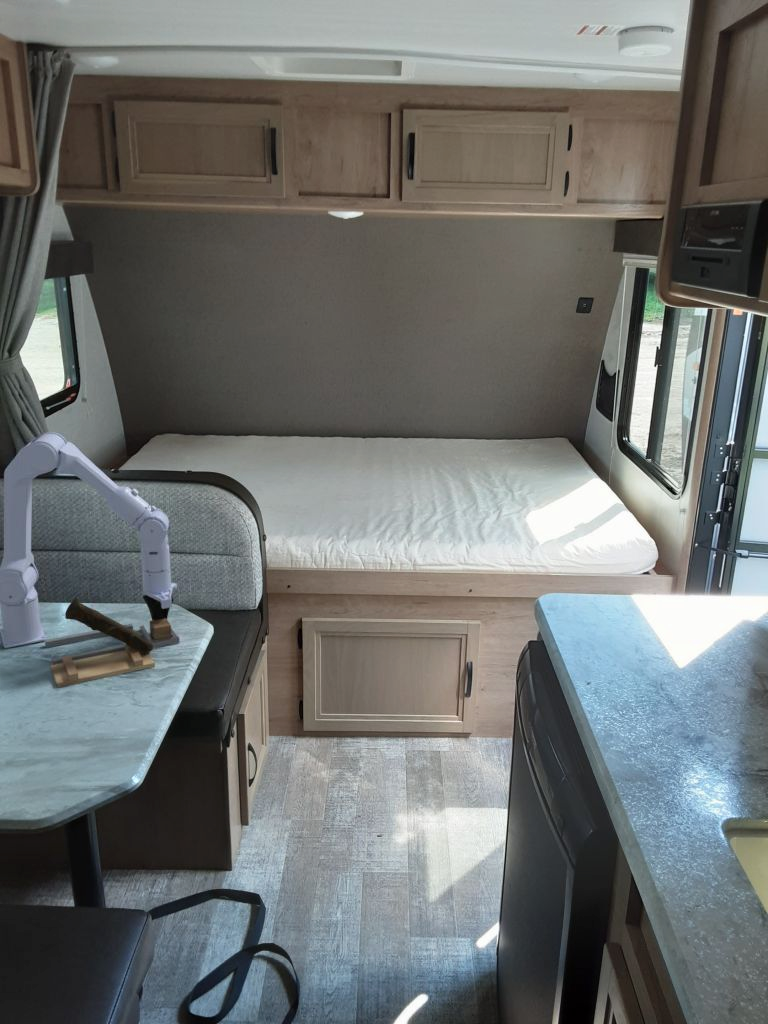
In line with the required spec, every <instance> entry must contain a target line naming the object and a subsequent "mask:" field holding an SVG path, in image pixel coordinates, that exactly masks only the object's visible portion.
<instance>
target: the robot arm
mask: <svg viewBox="0 0 768 1024" xmlns="http://www.w3.org/2000/svg"><path fill="white" fill-rule="evenodd" d="M55 468H57V471H56V474H60V475H74V476H76V477H77V478H79V479H80V480H81V481H83V482H84V483H85V484H87V485H88V486H89V487H91V488H92V489H93V490H94V491H96V492H97V493H99V494H100V495H101V496H103V497H104V498H105V499H106V500H107V507H108V509H110V510H111V511H112V512H113V513H114V514H115V515H117V516H118V517H119V518H120V519H121V520H122V521H124V522H125V523H127V525H129V526H130V527H131V528H132V529H135V530H136V534H137V537H138V539H139V540H140V544H141V546H140V556H141V559H140V560H141V571H142V572H141V574H142V585H143V586H142V593H143V594H144V595H143V596H142V598H143V600H144V602H145V604H146V605H147V608H148V610H149V613H150V617H151V621H152V620H158V619H163V618H166V619H167V620H168V617H169V611H170V609H171V608H173V602H174V600H175V599H174V597H173V596H172V594H173V590H176V589H177V588H178V584H177V583H176V582H172V574H171V558H170V557H171V553H170V545H169V535H168V530H169V527H170V520H169V517H168V516H167V514H166V513H165V512H164V510H163V509H160V508H157V507H156V506H155V505H150V503H148V502H147V501H146V500H144V499H143V497H141V496H140V495H139V493H140V492H139V491H138V490H137V489H136V488H132V489H131V488H130V487H129V486H127V485H126V486H122V485H121V486H119V485H117V484H116V483H115V482H114V481H113V480H112V479H111V478H110V477H109V476H108V475H106V474H105V473H104V472H103V471H102V470H101V469H100V468H99V467H97V466H96V465H95V463H94V462H92V461H91V460H90V459H89V458H88V457H87V456H86V455H85V454H84V453H83V452H82V451H81V450H80V449H79V448H78V447H77V446H76V445H75V444H73V443H72V442H70V441H67V439H66V438H65V437H64V436H63V435H61V434H60V433H57V432H53V431H47V432H44V433H42V434H41V435H39V436H37V437H36V438H34V439H32V440H31V441H30V442H29V443H28V444H25V446H23V447H22V448H20V449H19V451H18V452H17V454H16V455H15V457H14V458H13V459H12V460H11V462H10V463H9V464H8V465H7V467H6V468H5V470H4V473H3V481H4V482H3V557H2V560H1V564H0V616H1V622H2V623H1V625H2V627H1V628H0V636H1V637H0V638H1V641H2V644H3V647H4V649H8V648H13V647H17V646H18V647H19V646H24V645H28V644H29V645H30V644H34V643H39V642H45V640H47V637H46V634H45V632H44V629H43V626H42V624H41V614H40V605H39V597H38V591H37V590H36V588H35V584H36V583H37V582H38V580H39V570H38V569H37V567H36V565H35V556H34V554H33V553H32V514H33V513H32V509H33V506H32V505H33V504H32V502H33V498H32V497H33V495H32V494H33V480H34V479H35V478H37V477H38V476H40V475H43V474H46V473H49V472H51V471H53V470H54V469H55Z"/></svg>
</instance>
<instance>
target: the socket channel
mask: <svg viewBox="0 0 768 1024" xmlns="http://www.w3.org/2000/svg"><path fill="white" fill-rule="evenodd" d="M124 626H125V627H127V628H129V629H132V630H134V626H133V624H132V623H129V624H124ZM104 637H108V635H106V634H104V633H102V632H100V631H97V630H95V631H94V630H91V631H86V632H80V633H76V634H71V635H66V636H65V635H64V636H60V637H59V636H58V637H53V638H48V639H46V640H45V641H44V645H45V648H46V649H47V648H51V647H57V646H64V645H68V644H73V643H78V642H83V641H88V640H89V641H90V640H93V638H94V639H98V638H99V639H100V638H104ZM125 645H127V644H126V643H123V644H119V645H114V646H109V647H104V648H98V649H93V650H89V651H84V652H78V653H73V654H68V655H65V656H58V657H54V658H51V665H55V664H60V663H63V662H62V657H67V656H71V658H72V660H73V661H75V660H80V659H85V658H90V657H94V656H99V655H104V654H109V653H114V652H119V651H124V650H125Z"/></svg>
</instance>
